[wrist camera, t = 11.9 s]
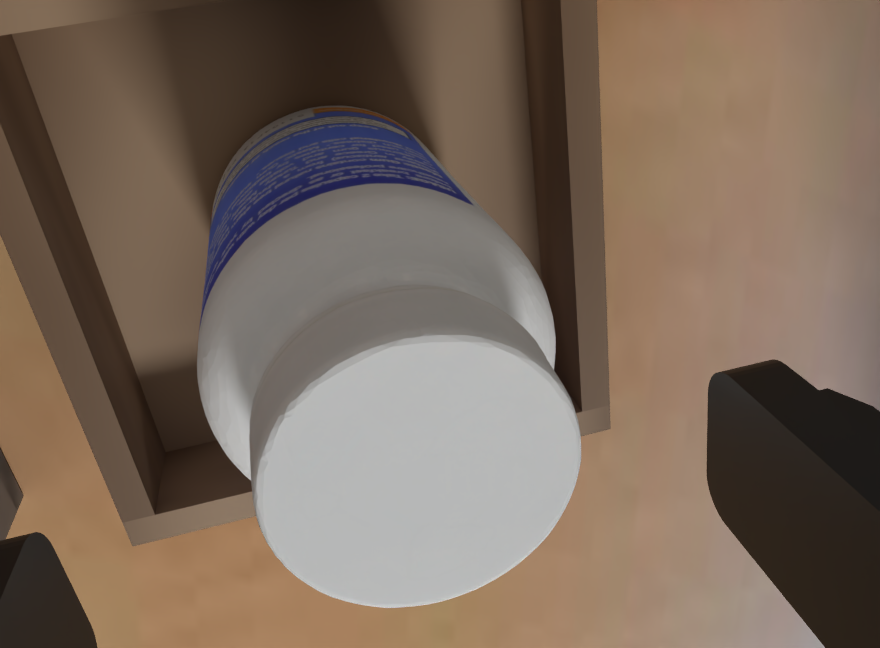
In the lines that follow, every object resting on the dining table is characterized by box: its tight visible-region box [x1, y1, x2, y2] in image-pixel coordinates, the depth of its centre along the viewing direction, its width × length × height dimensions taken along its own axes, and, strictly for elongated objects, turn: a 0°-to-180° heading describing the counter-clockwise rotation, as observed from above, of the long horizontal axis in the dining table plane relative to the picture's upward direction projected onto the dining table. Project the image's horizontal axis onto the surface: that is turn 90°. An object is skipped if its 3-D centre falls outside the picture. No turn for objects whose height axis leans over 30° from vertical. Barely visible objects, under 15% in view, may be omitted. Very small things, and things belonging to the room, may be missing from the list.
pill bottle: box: [197, 106, 581, 608], centre depth 13 cm, size 5×5×10 cm
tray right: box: [0, 0, 610, 546], centre depth 17 cm, size 11×11×3 cm
